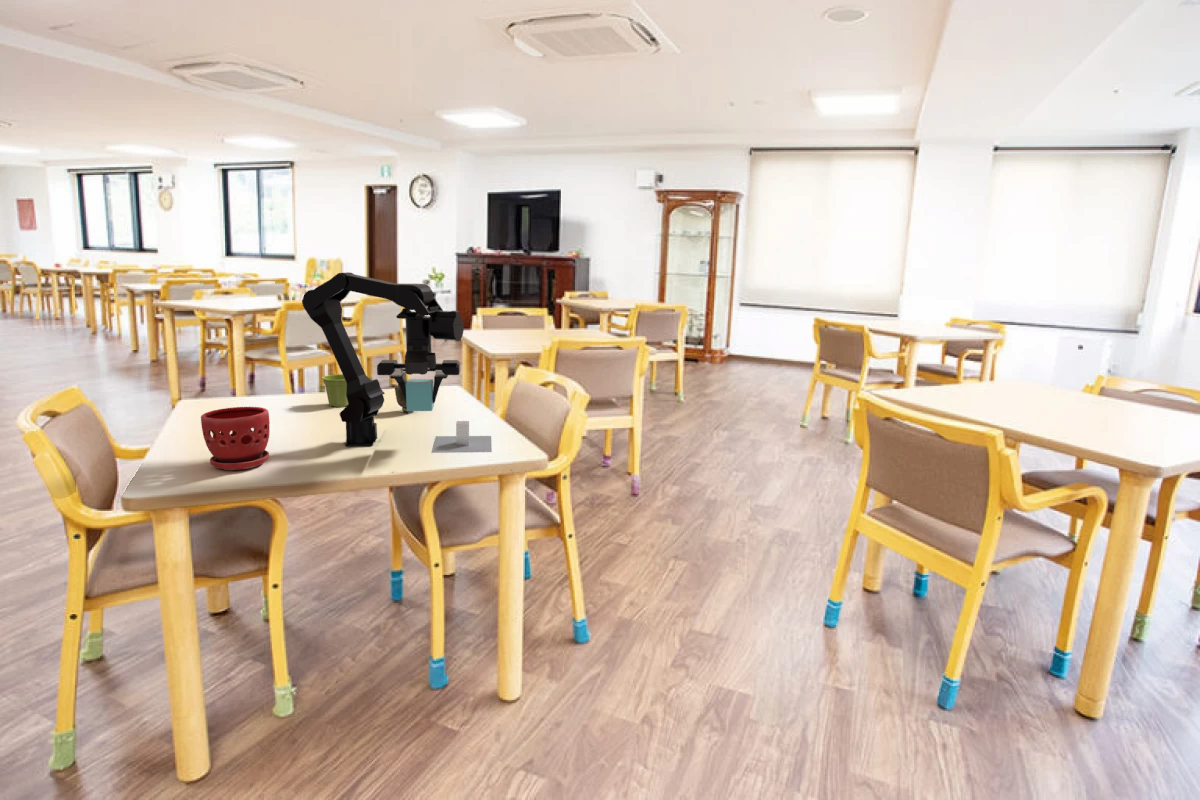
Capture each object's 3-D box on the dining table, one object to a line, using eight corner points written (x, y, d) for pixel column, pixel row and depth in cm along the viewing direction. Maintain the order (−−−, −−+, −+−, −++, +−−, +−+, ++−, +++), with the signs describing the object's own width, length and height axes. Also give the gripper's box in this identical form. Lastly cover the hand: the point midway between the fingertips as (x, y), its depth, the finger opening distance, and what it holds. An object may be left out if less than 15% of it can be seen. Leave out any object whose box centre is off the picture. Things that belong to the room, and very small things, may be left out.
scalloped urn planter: (394, 415, 198) (394, 388, 197) (395, 409, 205) (394, 383, 203) (421, 414, 200) (421, 387, 199) (421, 408, 207) (420, 382, 205)
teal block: (406, 411, 162) (405, 383, 161) (409, 405, 168) (408, 379, 166) (431, 411, 163) (431, 383, 161) (434, 405, 168) (433, 379, 167)
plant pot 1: (282, 456, 158) (278, 405, 156) (256, 474, 145) (251, 419, 143) (224, 454, 158) (219, 403, 155) (192, 473, 145) (187, 418, 142)
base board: (431, 456, 162) (431, 452, 162) (435, 439, 176) (435, 436, 175) (491, 455, 164) (491, 451, 164) (491, 439, 178) (491, 435, 178)
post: (456, 445, 168) (456, 424, 167) (456, 442, 171) (456, 421, 170) (468, 445, 169) (468, 424, 167) (469, 442, 171) (469, 421, 170)
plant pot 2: (322, 402, 210) (320, 374, 208) (354, 400, 214) (353, 373, 212) (324, 409, 202) (322, 380, 200) (358, 407, 206) (356, 379, 204)
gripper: (371, 342, 152) (374, 411, 156) (457, 343, 155) (458, 410, 159) (379, 336, 163) (382, 400, 167) (459, 336, 166) (460, 399, 169)
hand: (420, 402), depth 165 cm, fingers closed on teal block, 6 cm apart
